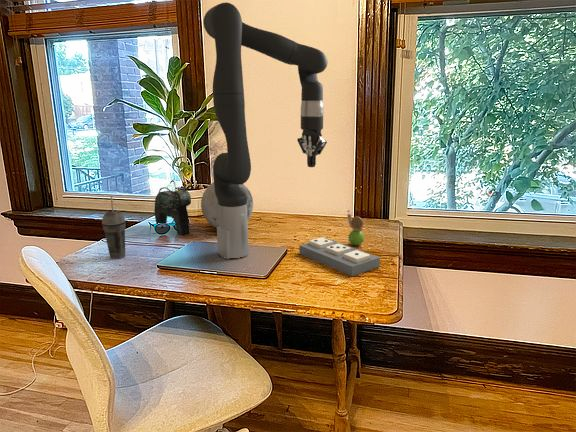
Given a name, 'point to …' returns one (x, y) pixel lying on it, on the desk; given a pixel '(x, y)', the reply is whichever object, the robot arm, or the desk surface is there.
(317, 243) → the tile two dots
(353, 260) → the tile one dot
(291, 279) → the desk surface
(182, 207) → the dark animal figurine
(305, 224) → the desk surface
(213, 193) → the moon model
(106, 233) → the beverage cup
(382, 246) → the desk surface
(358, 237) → the snail figurine
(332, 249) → the tile three dots
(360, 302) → the desk surface
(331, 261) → the socket board
